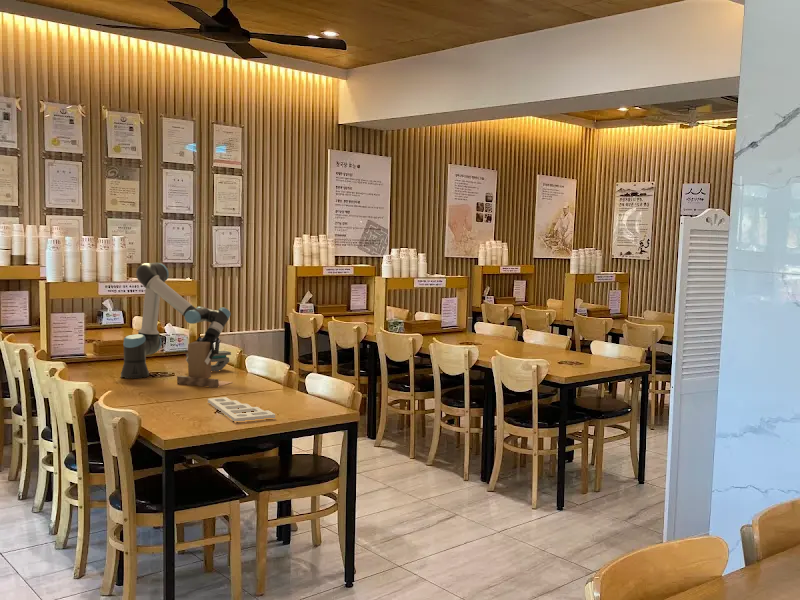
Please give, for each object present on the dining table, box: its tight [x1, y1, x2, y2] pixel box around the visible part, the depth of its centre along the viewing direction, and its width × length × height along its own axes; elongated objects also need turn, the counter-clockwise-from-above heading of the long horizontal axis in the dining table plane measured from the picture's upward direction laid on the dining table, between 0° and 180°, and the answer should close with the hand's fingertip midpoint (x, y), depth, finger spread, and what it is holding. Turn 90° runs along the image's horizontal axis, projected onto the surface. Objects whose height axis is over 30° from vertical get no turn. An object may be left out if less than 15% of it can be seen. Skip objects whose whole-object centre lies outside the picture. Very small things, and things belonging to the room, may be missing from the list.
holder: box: [207, 396, 276, 421], centre depth 336 cm, size 45×18×3 cm, turn 29°
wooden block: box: [187, 340, 212, 379], centre depth 405 cm, size 10×10×20 cm
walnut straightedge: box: [176, 375, 220, 388], centre depth 396 cm, size 25×3×4 cm, turn 67°
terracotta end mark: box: [219, 380, 234, 387], centre depth 401 cm, size 13×12×1 cm
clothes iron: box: [185, 350, 232, 372], centre depth 440 cm, size 25×8×11 cm, turn 128°
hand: (196, 362), depth 402 cm, fingers closed on wooden block, 12 cm apart
